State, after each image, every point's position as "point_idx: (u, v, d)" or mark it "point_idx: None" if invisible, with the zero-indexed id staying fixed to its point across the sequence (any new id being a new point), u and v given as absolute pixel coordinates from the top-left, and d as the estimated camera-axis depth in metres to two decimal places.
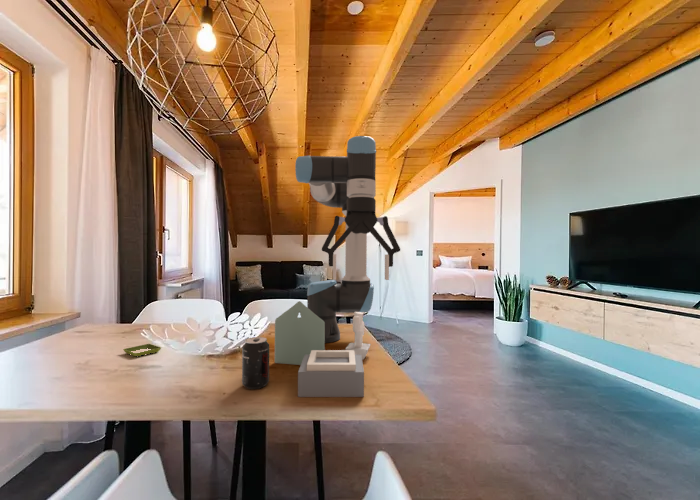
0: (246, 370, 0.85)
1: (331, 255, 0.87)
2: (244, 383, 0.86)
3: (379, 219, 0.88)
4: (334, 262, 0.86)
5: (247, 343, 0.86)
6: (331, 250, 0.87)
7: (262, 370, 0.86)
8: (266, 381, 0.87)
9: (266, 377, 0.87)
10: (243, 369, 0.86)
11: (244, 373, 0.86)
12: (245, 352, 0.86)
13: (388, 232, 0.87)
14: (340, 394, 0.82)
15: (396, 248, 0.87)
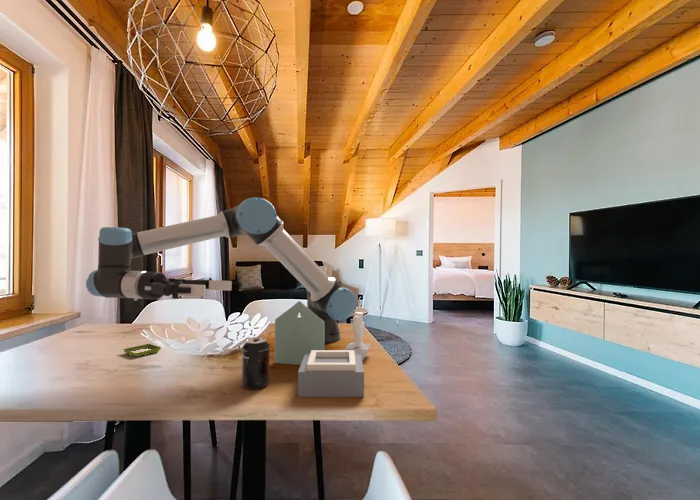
0: (246, 370, 0.85)
1: None
2: (244, 383, 0.86)
3: None
4: (216, 289, 0.97)
5: (247, 343, 0.86)
6: (207, 288, 0.98)
7: (262, 370, 0.86)
8: (266, 381, 0.87)
9: (266, 377, 0.87)
10: (243, 369, 0.86)
11: (244, 373, 0.86)
12: (245, 352, 0.86)
13: None
14: (340, 394, 0.82)
15: None
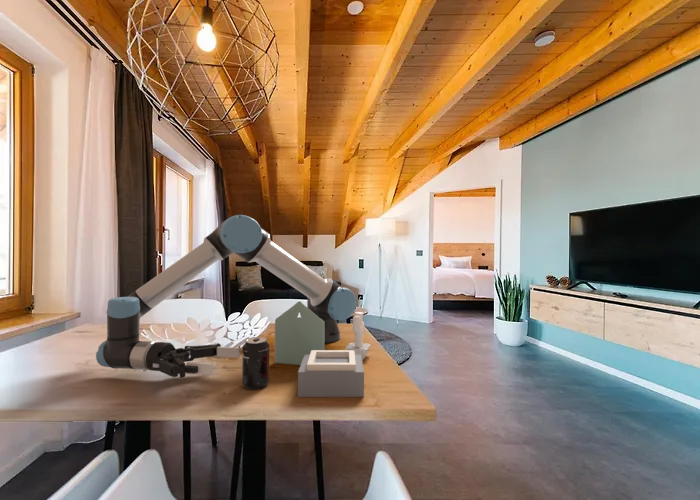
0: (246, 370, 0.85)
1: None
2: (244, 383, 0.86)
3: None
4: None
5: (247, 343, 0.86)
6: None
7: (262, 370, 0.86)
8: (266, 381, 0.87)
9: (266, 377, 0.87)
10: (243, 369, 0.86)
11: (244, 373, 0.86)
12: (245, 352, 0.86)
13: None
14: (340, 394, 0.82)
15: None
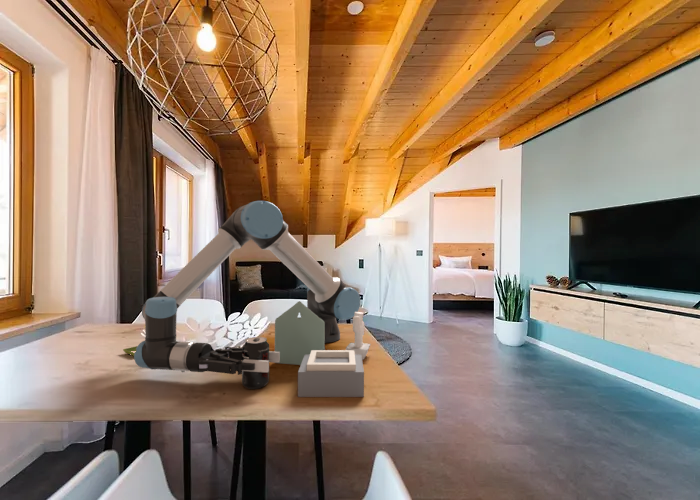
0: None
1: None
2: (244, 383, 0.86)
3: None
4: None
5: (247, 343, 0.86)
6: None
7: None
8: (266, 381, 0.87)
9: (266, 377, 0.87)
10: None
11: (243, 373, 0.86)
12: (245, 352, 0.86)
13: None
14: (340, 394, 0.82)
15: None
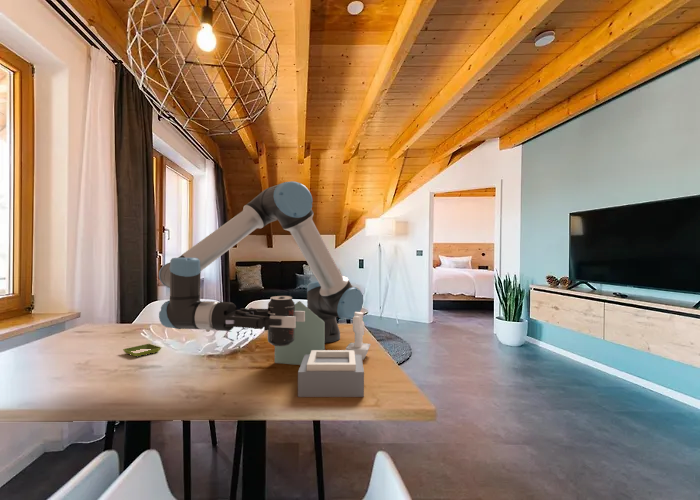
0: None
1: None
2: (270, 340, 0.85)
3: None
4: None
5: (273, 300, 0.85)
6: None
7: None
8: (292, 339, 0.86)
9: (292, 334, 0.86)
10: (269, 326, 0.85)
11: (270, 330, 0.85)
12: (271, 309, 0.85)
13: None
14: (340, 394, 0.82)
15: None
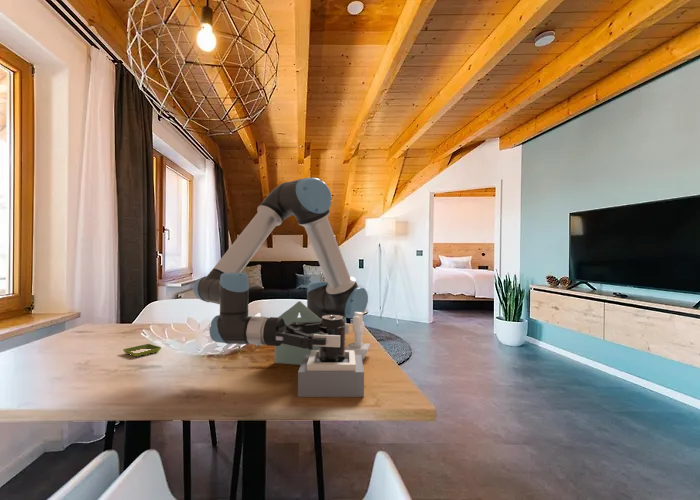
0: None
1: None
2: (323, 359, 0.86)
3: None
4: None
5: (325, 320, 0.87)
6: None
7: (340, 347, 0.86)
8: (343, 358, 0.88)
9: (343, 354, 0.88)
10: None
11: (322, 349, 0.86)
12: (324, 329, 0.86)
13: None
14: (340, 394, 0.82)
15: None
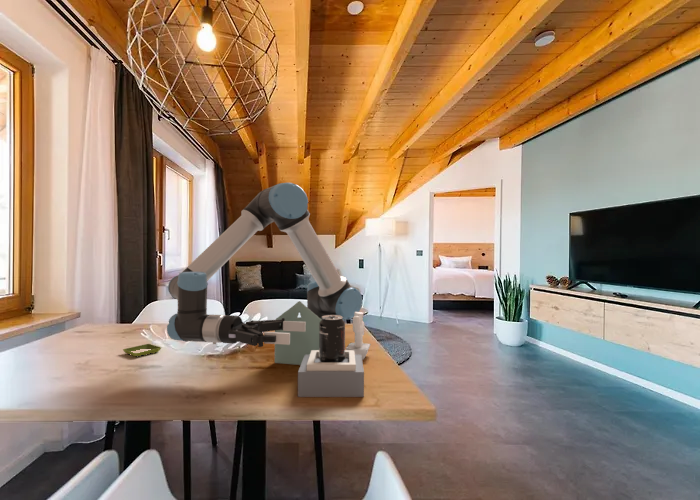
0: (325, 346, 0.86)
1: None
2: (323, 359, 0.86)
3: None
4: None
5: (325, 319, 0.87)
6: None
7: (340, 346, 0.86)
8: (343, 358, 0.88)
9: (343, 354, 0.88)
10: (321, 345, 0.87)
11: (322, 349, 0.86)
12: (324, 329, 0.86)
13: None
14: (340, 394, 0.82)
15: None
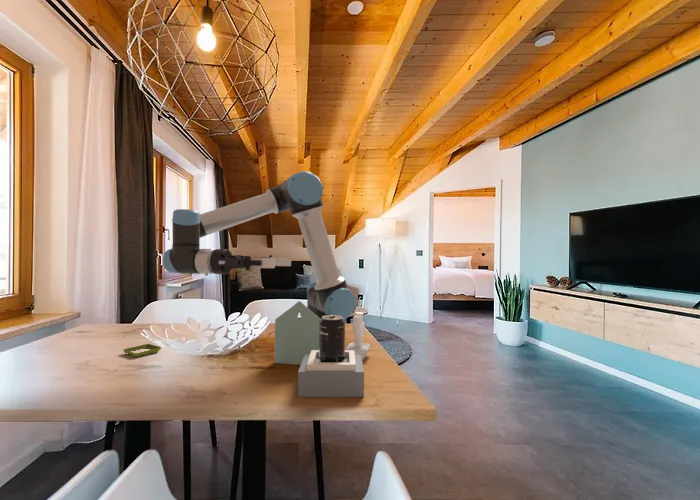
0: (325, 346, 0.86)
1: None
2: (323, 359, 0.86)
3: None
4: (277, 265, 1.06)
5: (325, 320, 0.87)
6: None
7: (340, 347, 0.86)
8: (343, 358, 0.88)
9: (343, 354, 0.88)
10: (321, 345, 0.87)
11: (322, 349, 0.86)
12: (324, 329, 0.86)
13: None
14: (340, 394, 0.82)
15: None
